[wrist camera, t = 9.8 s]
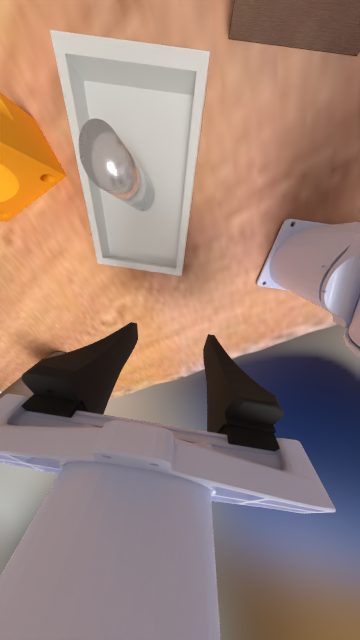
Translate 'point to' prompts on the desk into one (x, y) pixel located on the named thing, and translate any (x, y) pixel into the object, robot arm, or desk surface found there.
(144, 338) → the desk surface
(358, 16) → the socket block
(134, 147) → the tray
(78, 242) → the desk surface
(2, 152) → the pipe clamp
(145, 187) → the pin
